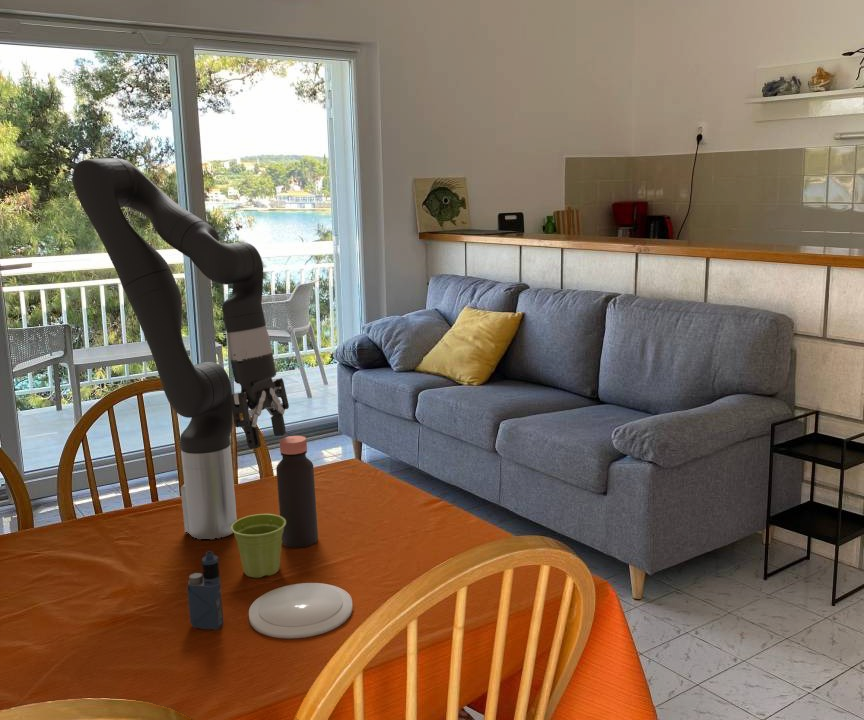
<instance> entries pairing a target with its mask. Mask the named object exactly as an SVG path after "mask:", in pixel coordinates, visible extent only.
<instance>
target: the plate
mask: <svg viewBox="0 0 864 720" xmlns="http://www.w3.org/2000/svg"><path fill="white" fill-rule="evenodd" d="M352 613H353V599H352V596H351V595H350V594H349V593H348V592H347V591H346V590H344V589H343V588H340V587H338V586H337V585H333V584H328V583H322V582H321V583H319V582H305V583H304V582H302V583H295V584H289V585H284V586H282V587H278V588H275V589H272V590H270V591H268V592H266V593H264V594H261V596H259V597H258V598H256V599H255V600H254V601H253V602H252V604H250V607H249V610H248V620H249V621H248V622H249V624H250V626H251V627H252V628H253V629H254V630H255V631H256V632H258V633H259V634H262V635H265V636H268V637H272V638H277V639H301V638H308V637H313V636H318V635H322V634H325V633H327V632H331V631H332V630H334V629H336V628H338V627H340V626H341V625H342V624H344V623H345V622H347V620H348V619H349V618H350V616H351V615H352Z"/></svg>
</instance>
